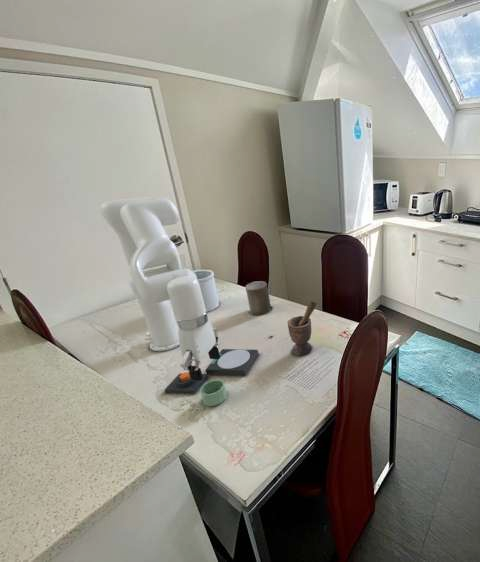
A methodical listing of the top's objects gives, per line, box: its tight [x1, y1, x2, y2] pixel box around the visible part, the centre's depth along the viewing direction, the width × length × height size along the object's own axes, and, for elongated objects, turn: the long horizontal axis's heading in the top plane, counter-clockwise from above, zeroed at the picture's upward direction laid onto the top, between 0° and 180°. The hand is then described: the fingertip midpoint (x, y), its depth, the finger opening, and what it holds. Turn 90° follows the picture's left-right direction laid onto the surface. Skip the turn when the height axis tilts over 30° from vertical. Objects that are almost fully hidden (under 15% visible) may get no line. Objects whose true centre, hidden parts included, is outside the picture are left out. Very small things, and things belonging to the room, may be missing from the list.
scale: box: [205, 348, 260, 377], centre depth 114 cm, size 14×12×3 cm
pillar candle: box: [244, 280, 272, 316], centre depth 150 cm, size 10×10×15 cm
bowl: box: [199, 379, 228, 407], centre depth 98 cm, size 7×7×5 cm
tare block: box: [164, 371, 209, 395], centre depth 105 cm, size 10×8×3 cm
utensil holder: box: [191, 269, 220, 313], centre depth 153 cm, size 15×15×18 cm
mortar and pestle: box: [287, 299, 317, 356], centre depth 120 cm, size 12×9×20 cm
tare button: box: [180, 372, 190, 382], centre depth 104 cm, size 3×3×2 cm
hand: (206, 368), depth 94 cm, fingers open, 9 cm apart
